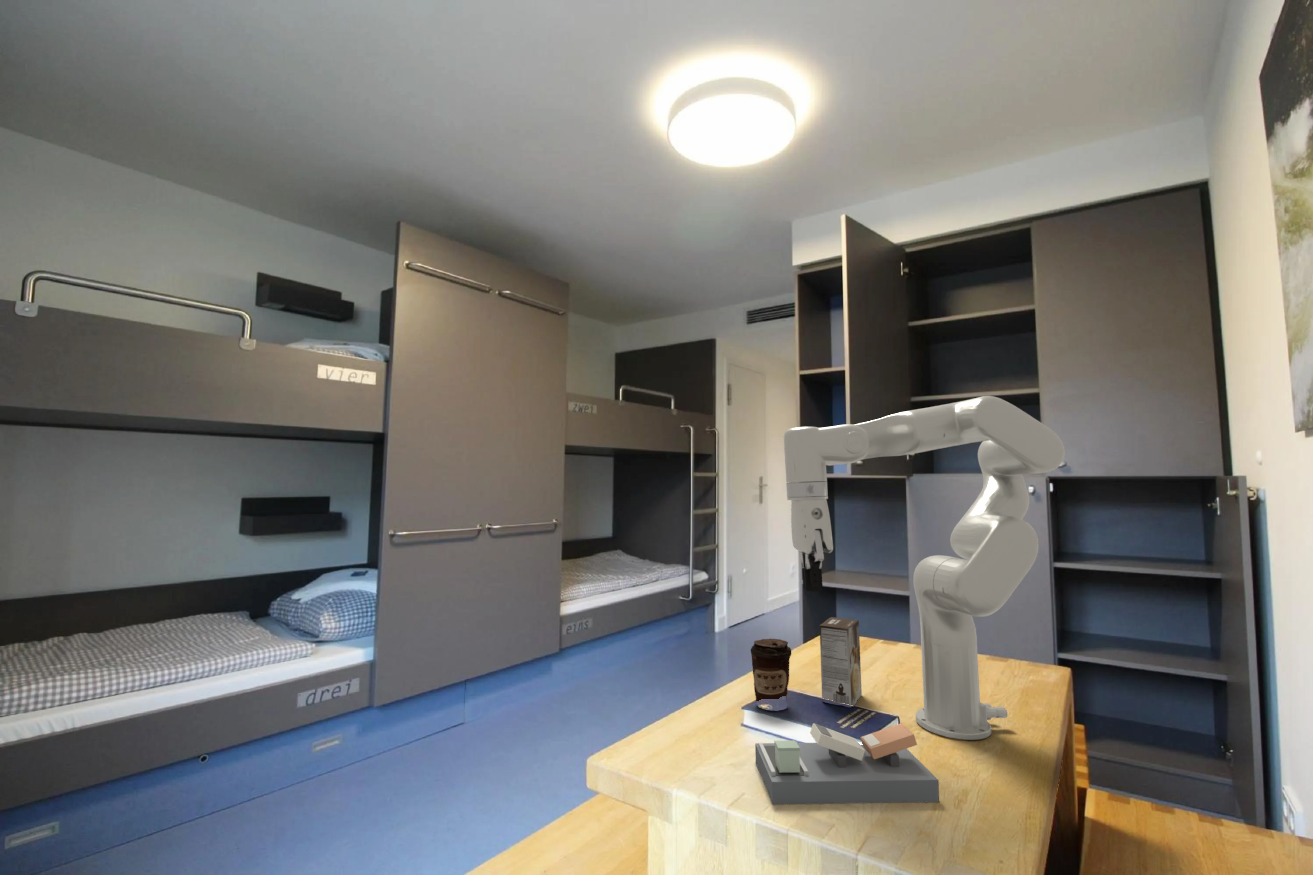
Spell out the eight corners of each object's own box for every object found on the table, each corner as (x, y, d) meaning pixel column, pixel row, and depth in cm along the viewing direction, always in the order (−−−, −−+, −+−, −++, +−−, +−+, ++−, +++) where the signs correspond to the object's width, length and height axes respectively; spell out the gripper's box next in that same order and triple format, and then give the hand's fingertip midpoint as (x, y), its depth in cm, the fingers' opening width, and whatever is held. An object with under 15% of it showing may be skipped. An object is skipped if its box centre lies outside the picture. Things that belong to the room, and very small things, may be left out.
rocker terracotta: (904, 733, 87) (901, 722, 87) (917, 744, 83) (913, 733, 83) (863, 746, 87) (859, 735, 87) (874, 759, 83) (870, 747, 83)
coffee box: (832, 689, 123) (830, 615, 124) (862, 695, 120) (859, 619, 121) (821, 702, 115) (818, 624, 117) (852, 709, 112) (850, 628, 113)
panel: (900, 760, 91) (899, 731, 91) (939, 801, 79) (937, 768, 79) (755, 762, 90) (755, 733, 90) (772, 803, 78) (771, 769, 79)
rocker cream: (851, 748, 87) (855, 737, 87) (861, 760, 83) (865, 749, 83) (810, 732, 87) (813, 721, 87) (817, 744, 83) (821, 733, 83)
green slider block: (796, 763, 83) (795, 740, 83) (800, 772, 80) (799, 747, 81) (774, 764, 83) (774, 740, 83) (778, 772, 80) (778, 747, 81)
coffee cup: (793, 717, 108) (792, 648, 109) (750, 713, 110) (749, 646, 111) (791, 700, 116) (790, 637, 118) (752, 697, 118) (751, 635, 119)
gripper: (841, 491, 97) (848, 596, 96) (813, 491, 112) (818, 582, 111) (800, 492, 97) (806, 598, 95) (776, 492, 112) (782, 584, 110)
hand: (812, 589), depth 103 cm, fingers closed
